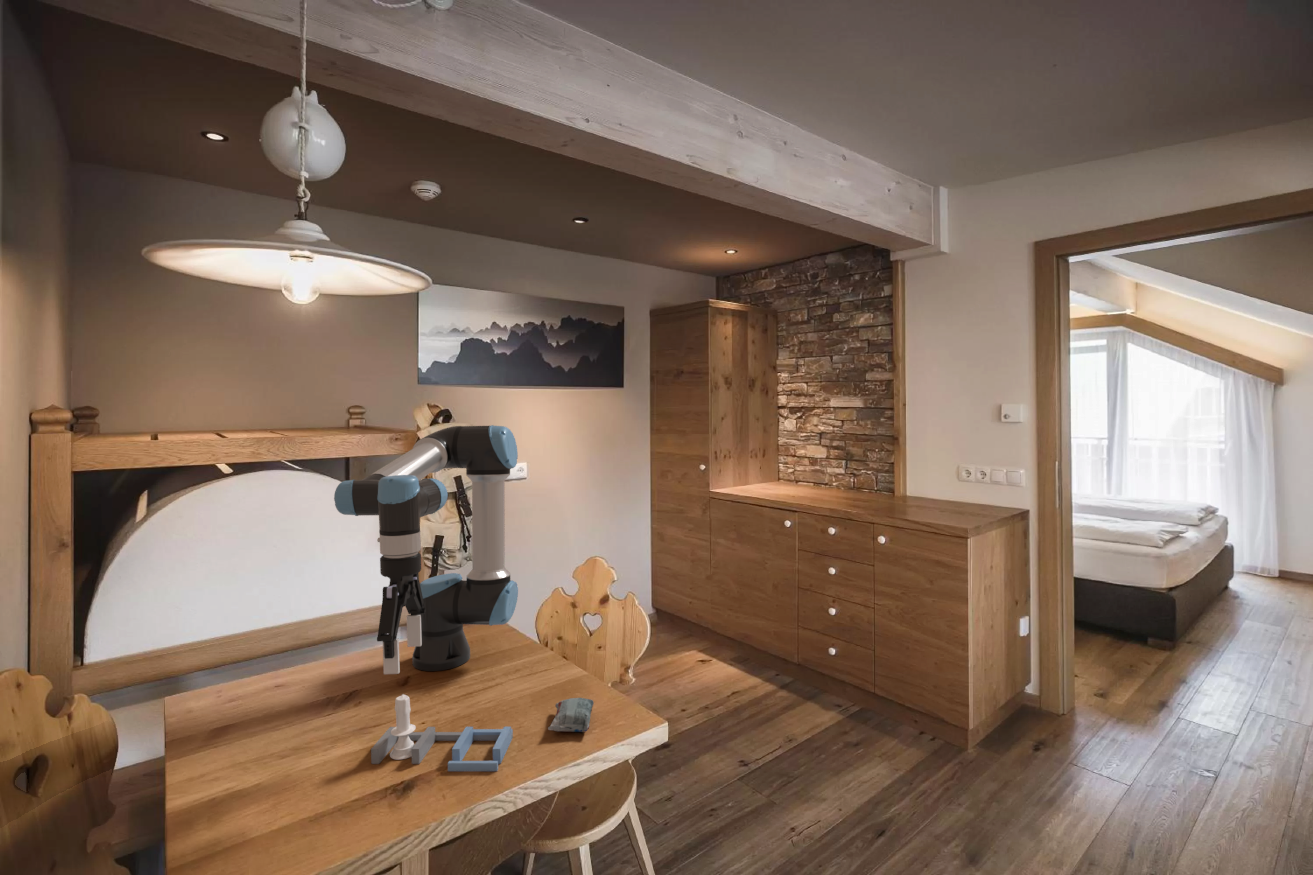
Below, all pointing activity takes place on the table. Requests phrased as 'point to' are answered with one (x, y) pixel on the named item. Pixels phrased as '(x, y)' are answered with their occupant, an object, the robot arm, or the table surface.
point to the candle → (402, 729)
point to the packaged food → (572, 715)
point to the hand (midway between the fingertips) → (403, 658)
